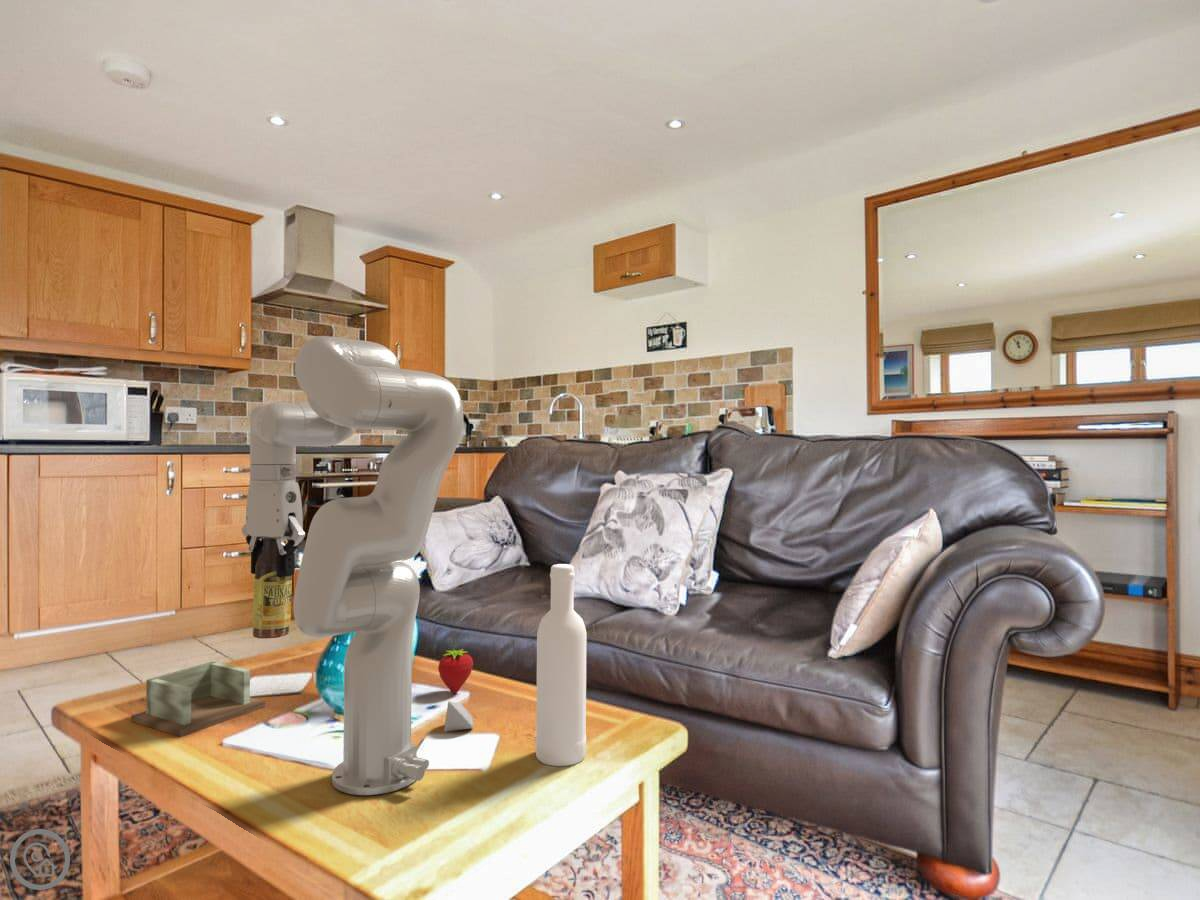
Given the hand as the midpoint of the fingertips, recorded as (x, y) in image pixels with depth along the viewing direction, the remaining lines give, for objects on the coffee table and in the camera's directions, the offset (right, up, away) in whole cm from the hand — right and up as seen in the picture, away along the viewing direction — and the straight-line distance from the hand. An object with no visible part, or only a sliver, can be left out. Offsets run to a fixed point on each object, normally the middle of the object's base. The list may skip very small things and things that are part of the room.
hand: (272, 573), depth 129 cm
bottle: (+53, -26, -16) cm, 61 cm away
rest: (-13, -25, 0) cm, 29 cm away
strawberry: (+30, -26, +12) cm, 42 cm away
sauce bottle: (0, -11, 0) cm, 11 cm away
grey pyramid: (+35, -26, -5) cm, 44 cm away
